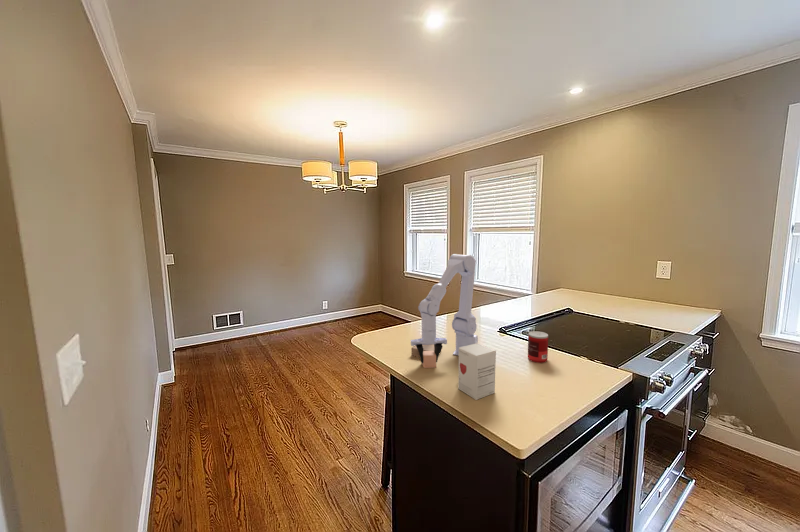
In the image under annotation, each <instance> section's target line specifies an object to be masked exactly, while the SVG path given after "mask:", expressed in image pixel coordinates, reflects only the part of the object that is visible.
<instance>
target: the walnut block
mask: <svg viewBox="0 0 800 532" xmlns="http://www.w3.org/2000/svg"><path fill="white" fill-rule="evenodd" d="M422 346H423V351H434V352H435V350H434V344H430V345H422ZM440 352H441V353H442V350H441V351H440ZM415 356H416V357H417V358H420V355H419V352H418V349H417V347H416V345H414V346H411V357H415Z"/></svg>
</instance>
